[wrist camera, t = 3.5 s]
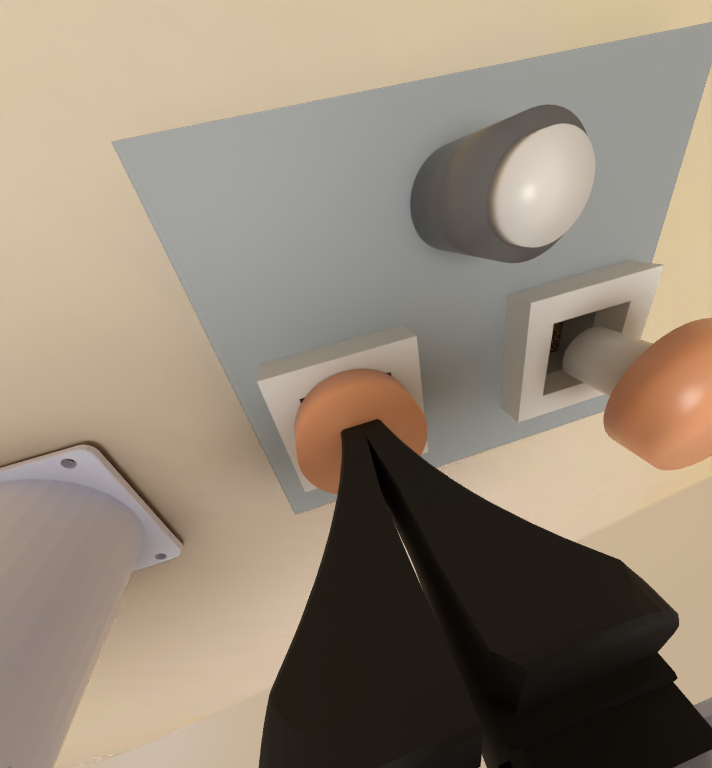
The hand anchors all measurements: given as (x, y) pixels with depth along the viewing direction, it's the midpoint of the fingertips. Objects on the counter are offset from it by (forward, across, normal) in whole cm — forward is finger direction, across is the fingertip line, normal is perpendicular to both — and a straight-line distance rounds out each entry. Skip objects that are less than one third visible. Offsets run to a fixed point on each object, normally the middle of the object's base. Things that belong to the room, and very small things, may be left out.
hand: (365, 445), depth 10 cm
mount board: (+4, -5, -2) cm, 7 cm away
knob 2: (+1, -10, 0) cm, 10 cm away
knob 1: (+4, 0, 0) cm, 4 cm away
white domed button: (+3, -5, -6) cm, 9 cm away
